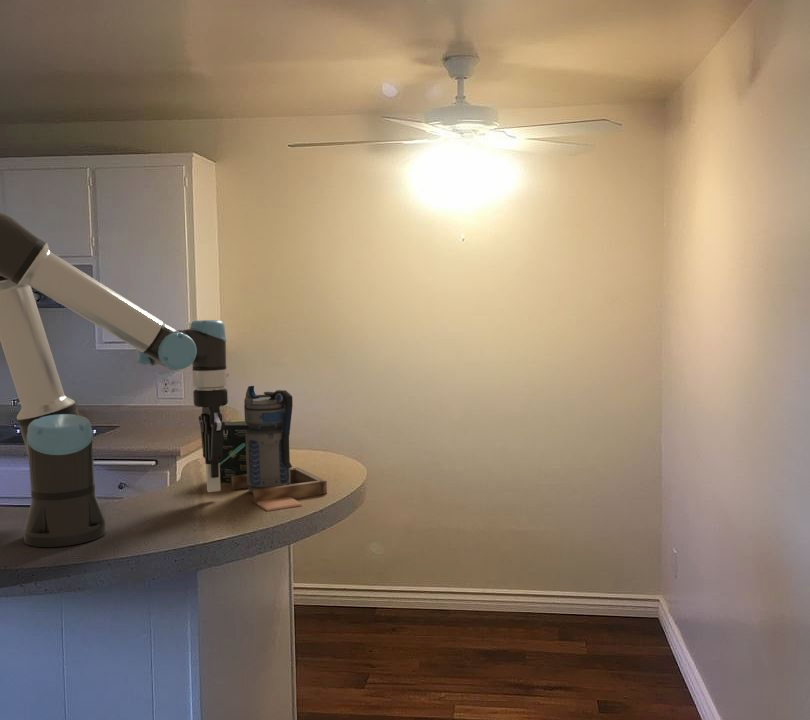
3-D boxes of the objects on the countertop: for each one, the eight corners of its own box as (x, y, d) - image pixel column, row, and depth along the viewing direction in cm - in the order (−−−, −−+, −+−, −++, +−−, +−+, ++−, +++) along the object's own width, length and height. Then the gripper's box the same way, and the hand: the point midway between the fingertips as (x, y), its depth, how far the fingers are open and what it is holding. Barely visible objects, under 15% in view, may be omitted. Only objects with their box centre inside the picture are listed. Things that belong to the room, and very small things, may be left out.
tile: (267, 511, 179) (266, 508, 179) (255, 503, 186) (255, 500, 186) (301, 505, 183) (301, 503, 183) (288, 498, 190) (288, 496, 190)
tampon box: (271, 474, 215) (269, 418, 214) (259, 482, 206) (257, 424, 205) (231, 474, 217) (229, 418, 216) (217, 482, 208) (215, 424, 207)
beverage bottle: (279, 499, 189) (275, 390, 186) (236, 493, 196) (232, 388, 193) (307, 489, 197) (303, 385, 195) (265, 484, 204) (261, 383, 202)
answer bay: (255, 504, 185) (255, 491, 185) (231, 488, 201) (231, 476, 200) (326, 493, 193) (326, 480, 193) (298, 479, 209) (298, 467, 209)
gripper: (235, 389, 184) (238, 494, 185) (218, 384, 195) (221, 483, 197) (201, 392, 180) (205, 498, 182) (186, 386, 191) (190, 487, 193)
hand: (213, 490), depth 189 cm, fingers closed
